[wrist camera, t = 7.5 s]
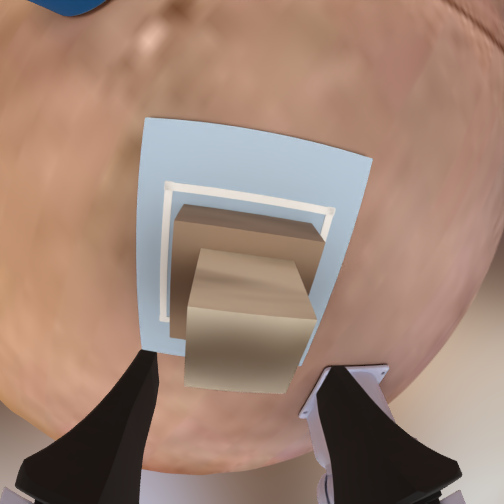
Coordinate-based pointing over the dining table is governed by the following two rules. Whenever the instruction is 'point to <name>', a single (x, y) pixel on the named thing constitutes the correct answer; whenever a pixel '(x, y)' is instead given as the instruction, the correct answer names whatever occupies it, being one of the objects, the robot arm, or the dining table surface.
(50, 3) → the beverage can
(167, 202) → the blueprint board
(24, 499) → the robot arm
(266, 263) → the maple cube
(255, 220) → the walnut base block
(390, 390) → the dining table surface
